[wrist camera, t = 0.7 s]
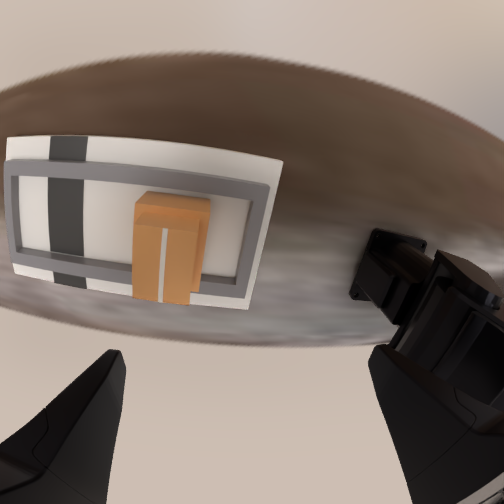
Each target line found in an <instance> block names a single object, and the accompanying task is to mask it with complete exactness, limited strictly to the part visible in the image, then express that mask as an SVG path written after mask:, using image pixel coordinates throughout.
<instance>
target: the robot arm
mask: <svg viewBox="0 0 504 504" xmlns="http://www.w3.org/2000/svg"><path fill="white" fill-rule="evenodd" d="M378 233H379V235H378V237H376V236H377V234H378ZM421 245H422V246H421ZM426 246H427V242H426V241H425V240H423V239H420V238H416V237H412V236H408V235H404V234H400V233H395V232H391V231H387V230H383V229H375V230H374V231H373V232H372V234H371V237H370V240H369V243H368V246H367V249H366V251H365V254H364V256H363V259H362V262H361V264H360V267H359V270H358V272H357V275H356V277H355V281H354V283H353V286H352V288H351V291H350V294H349V295H350V297H351V298H352V299H353V300H362V301H372V302H373V303H374V304H375V306H376V307H377V308H380V310H381V311H382V312H383V313H384V315H385V316H386V317H387V318H388V319H389V321H390V322H391V323H392V324H393V325H397V327H398V330H397V331H396V333H395V335H394V336H393V338H392V340H391V341H390V343H389V344H380V345H376V346H375V347H374V349H373V351H372V354H371V356H370V358H369V361H368V367H369V370H370V374H371V377H372V381H373V385H374V389H375V392H376V396H377V399H378V402H379V405H380V407H381V410H382V413H383V415H384V418H385V420H386V423H387V426H388V429H389V432H390V434H391V437H392V440H393V443H394V446H395V449H396V451H397V455H398V458H399V461H400V464H401V467H402V470H403V473H404V476H405V479H406V482H407V486H408V490H409V493H410V496H411V500H412V503H413V504H504V303H503V300H504V294H503V293H502V291H501V290H500V289H499V287H498V286H497V284H496V283H495V282H494V280H493V279H492V278H491V276H490V275H489V274H488V273H487V272H485V271H484V270H482V269H481V268H479V267H478V266H476V265H475V264H473V263H472V262H470V261H468V260H466V259H463V258H460V257H458V256H455V255H452V254H449V253H446V252H444V251H441V250H438V249H437V251H436V253H435V256H434V257H435V259H434V261H433V260H432V259H431V258H429V257H428V256H427V255H425V254H424V252H425V249H426ZM355 293H356V294H355ZM354 294H355V295H354ZM125 377H126V366H125V363H124V360H123V356H122V353H121V351H119V350H113V349H109V350H107V351H106V352H105V353H104V354H103V355H102V356H101V357H99V358H98V360H96V361H95V362H94V363H93V364H92V365H91V366H89V367H88V368H87V369H86V370H85V371H84V372H83V373H82V374H81V375H80V376H78V377H77V378H76V379H75V380H74V381H73V382H72V383H71V384H70V385H69V386H68V387H66V388H65V389H64V390H63V391H62V392H61V393H60V394H59V395H58V396H57V397H56V398H54V399H53V400H52V401H51V402H50V403H49V404H48V405H47V406H46V408H44V409H43V410H42V411H41V412H39V413H38V414H37V415H36V416H35V417H34V418H33V419H32V420H30V421H29V422H28V423H27V424H26V425H24V426H23V427H22V428H21V429H19V430H18V431H17V432H15V433H14V434H13V435H11V436H10V437H9V438H7V439H6V440H5V441H3V442H2V443H1V444H0V504H106V501H107V492H108V485H109V478H110V471H111V465H112V459H113V453H114V447H115V442H116V436H117V431H118V426H119V422H120V417H121V412H122V404H123V394H124V385H125Z"/></svg>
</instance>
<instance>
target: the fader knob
mask: <svg viewBox="0 0 504 504" xmlns="http://www.w3.org/2000/svg"><path fill="white" fill-rule="evenodd" d="M209 219H210V199H206V198H199V197H192V196H185V195H178V194H170V193H162V192H154V191H146V192H145V193H144V194H143V195H142V196H141V197H140V198H139V199H138V200H137V201H136V202H135V209H134V223H133V245H132V294H133V298H136V299H143V300H150V301H157V302H158V303H163V302H165V303H172V304H180V305H189V302H190V293H191V291H192V292H199V286H200V278H201V271H202V264H203V257H204V251H205V244H206V238H207V231H208V225H209Z"/></svg>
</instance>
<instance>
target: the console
mask: <svg viewBox="0 0 504 504" xmlns="http://www.w3.org/2000/svg"><path fill="white" fill-rule="evenodd" d="M282 166H283V161H281V160H278V159H274V158H269V157H264V156H259V155H254V154H249V153H243V152H238V151H232V150H227V149H221V148H214V147H208V146H201V145H194V144H187V143H179V142H170V141H162V140H152V139H141V138H128V137H113V136H92V135H33V136H15V137H9V138H7V149H6V161H4V202H5V217H6V228H7V237H8V244H9V251H10V258H11V263H13V266H14V271H15V273H16V274H20V275H24V276H29V277H33V278H38V279H42V280H47V281H52V282H54V283H58V284H63V285H68V286H73V287H78V288H83V289H87V288H88V289H93V290H99V291H105V292H111V293H117V294H123V295H129V296H133V294H132V245H133V223H134V209H135V202H136V201H137V200H138V199H139V198H140V197H141V196H142V195H143V194H144V193H145V192H146V191H154V192H162V193H170V194H178V195H185V196H192V197H199V198H206V199H210V219H209V225H208V231H207V238H206V244H205V251H204V257H203V264H202V271H201V278H200V286H199V292H192V291H191V293H190V302H189V304H197V305H205V306H215V307H225V308H235V309H246V310H248V308H249V304H250V300H251V296H252V292H253V288H254V284H255V280H256V275H257V271H258V267H259V263H260V259H261V255H262V251H263V246H264V242H265V238H266V234H267V230H268V225H269V221H270V217H271V213H272V209H273V204H274V200H275V196H276V192H277V187H278V183H279V179H280V174H281V170H282Z"/></svg>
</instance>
